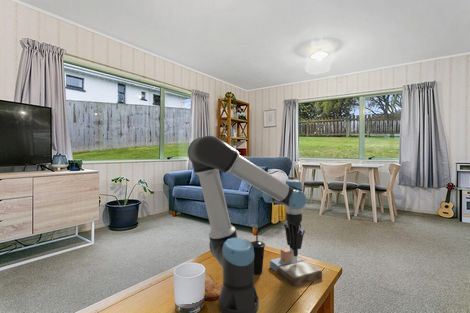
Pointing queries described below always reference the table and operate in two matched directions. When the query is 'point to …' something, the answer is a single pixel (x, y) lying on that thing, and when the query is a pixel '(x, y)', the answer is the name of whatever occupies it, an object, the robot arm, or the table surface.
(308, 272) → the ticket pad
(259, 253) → the black tall container
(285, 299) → the table surface
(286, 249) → the blue base with cube
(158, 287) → the table surface
